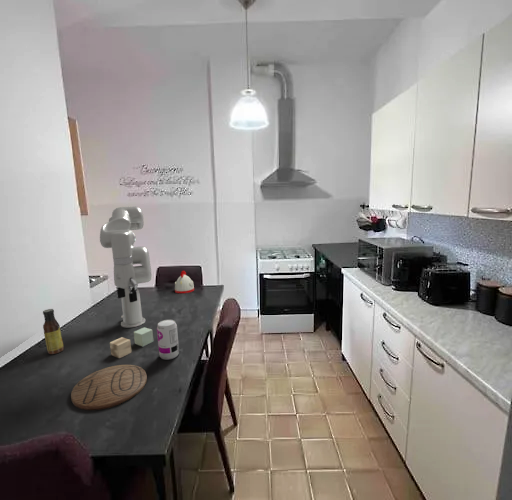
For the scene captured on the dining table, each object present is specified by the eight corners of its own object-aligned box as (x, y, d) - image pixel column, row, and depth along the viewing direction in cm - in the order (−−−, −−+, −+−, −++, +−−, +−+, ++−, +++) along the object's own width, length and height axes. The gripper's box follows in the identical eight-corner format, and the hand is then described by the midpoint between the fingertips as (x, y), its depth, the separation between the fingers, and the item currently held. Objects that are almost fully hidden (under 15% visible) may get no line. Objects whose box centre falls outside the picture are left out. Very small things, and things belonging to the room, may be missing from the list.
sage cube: (134, 343, 147) (133, 331, 146) (145, 338, 151) (144, 327, 150) (143, 346, 143) (141, 334, 142) (153, 341, 148) (152, 329, 147)
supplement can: (161, 362, 129) (158, 328, 126) (158, 353, 136) (154, 321, 133) (181, 357, 132) (178, 324, 130) (176, 349, 140) (173, 317, 137)
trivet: (66, 420, 97) (65, 415, 97) (76, 378, 120) (75, 374, 119) (149, 397, 107) (149, 392, 106) (144, 363, 129) (144, 359, 129)
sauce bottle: (67, 349, 144) (60, 308, 140) (54, 355, 138) (47, 313, 134) (56, 347, 146) (50, 307, 142) (44, 353, 140) (37, 312, 136)
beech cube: (111, 355, 137) (109, 342, 136) (123, 349, 142) (122, 337, 141) (119, 358, 133) (117, 345, 132) (131, 352, 138) (130, 339, 137)
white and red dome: (171, 293, 222) (170, 273, 220) (179, 287, 236) (178, 268, 233) (190, 293, 220) (188, 273, 218) (197, 287, 233) (195, 268, 231)
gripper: (104, 260, 134) (109, 298, 137) (125, 264, 123) (130, 305, 126) (121, 257, 140) (125, 293, 143) (142, 261, 129) (146, 300, 132)
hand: (127, 299), depth 135 cm, fingers open, 9 cm apart
